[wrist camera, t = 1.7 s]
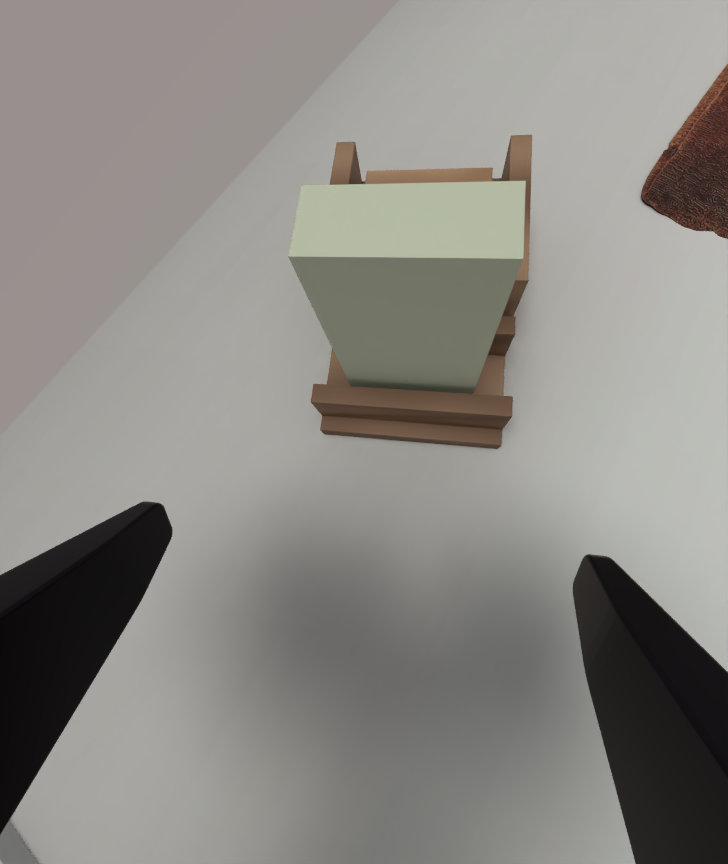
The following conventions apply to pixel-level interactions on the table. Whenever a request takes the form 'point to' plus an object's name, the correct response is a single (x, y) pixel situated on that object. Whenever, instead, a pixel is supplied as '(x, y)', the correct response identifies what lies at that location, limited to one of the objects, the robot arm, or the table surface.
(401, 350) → the tall board
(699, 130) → the wooden tablet
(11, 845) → the electronic device
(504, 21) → the table surface
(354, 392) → the offcut rack
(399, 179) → the small oak offcut
